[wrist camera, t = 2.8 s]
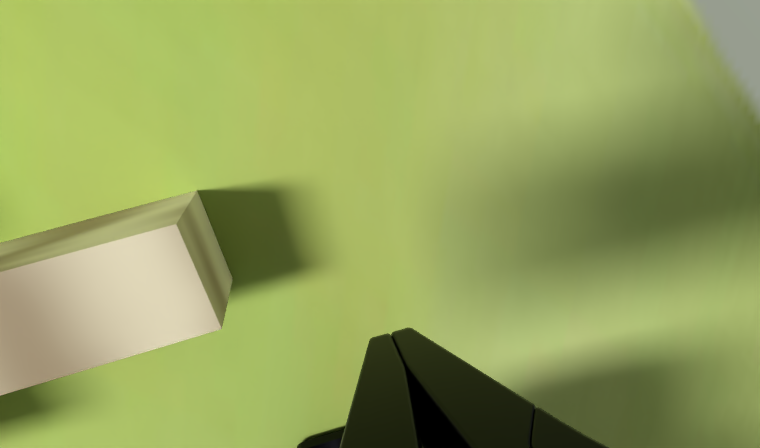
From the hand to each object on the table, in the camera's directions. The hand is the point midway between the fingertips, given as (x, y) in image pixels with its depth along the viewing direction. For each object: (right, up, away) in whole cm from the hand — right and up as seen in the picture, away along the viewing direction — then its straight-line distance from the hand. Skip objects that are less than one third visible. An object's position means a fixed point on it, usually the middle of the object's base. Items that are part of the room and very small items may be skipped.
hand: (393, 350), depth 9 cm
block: (-11, +1, +6) cm, 13 cm away
